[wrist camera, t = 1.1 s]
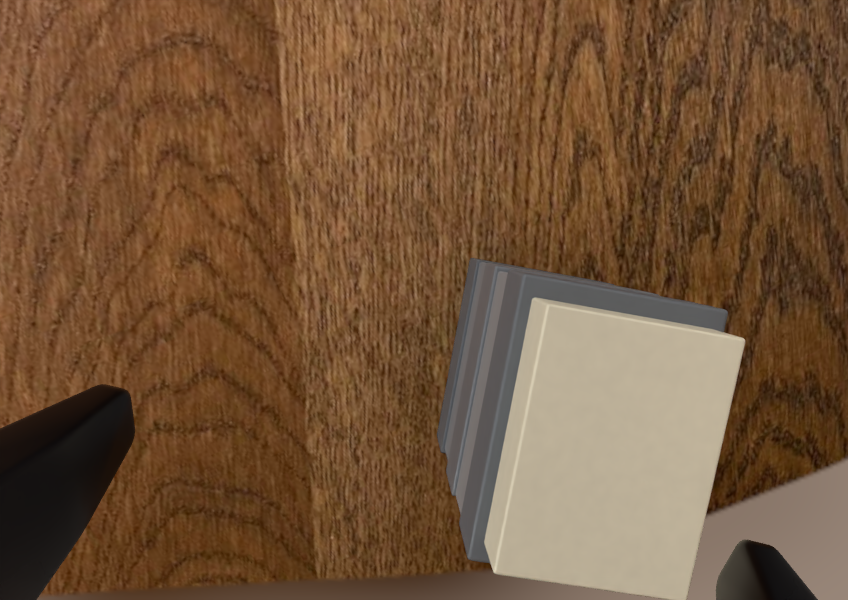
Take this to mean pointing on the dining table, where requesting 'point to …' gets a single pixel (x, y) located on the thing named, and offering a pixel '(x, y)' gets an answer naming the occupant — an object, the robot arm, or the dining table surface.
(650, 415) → the cream book
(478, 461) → the grey books
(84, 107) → the dining table surface
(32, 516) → the robot arm
